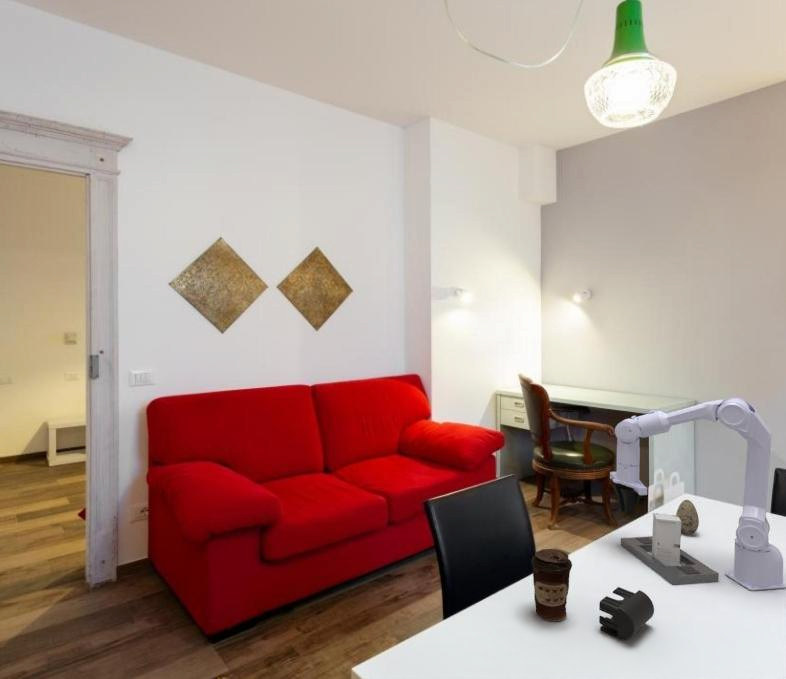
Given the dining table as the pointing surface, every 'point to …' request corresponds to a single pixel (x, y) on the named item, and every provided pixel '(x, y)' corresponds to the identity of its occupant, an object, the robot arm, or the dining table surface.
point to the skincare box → (666, 539)
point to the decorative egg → (688, 517)
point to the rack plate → (673, 574)
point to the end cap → (625, 613)
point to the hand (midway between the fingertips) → (627, 512)
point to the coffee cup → (551, 583)
